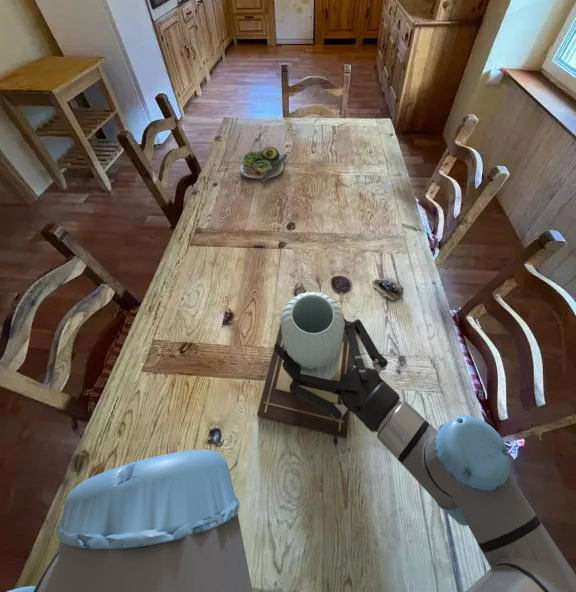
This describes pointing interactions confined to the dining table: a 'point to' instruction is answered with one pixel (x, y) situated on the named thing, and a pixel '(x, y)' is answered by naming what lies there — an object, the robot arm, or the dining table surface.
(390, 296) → the brown flat lumpy piece
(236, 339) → the dining table surface
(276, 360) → the picture frame
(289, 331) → the vase
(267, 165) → the avocado toast plate
